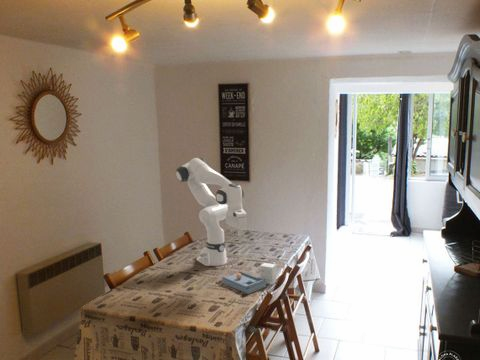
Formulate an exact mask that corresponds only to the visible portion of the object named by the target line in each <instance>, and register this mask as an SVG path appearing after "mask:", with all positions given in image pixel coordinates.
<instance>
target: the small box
mask: <svg viewBox="0 0 480 360" xmlns="http://www.w3.org/2000/svg"><path fill="white" fill-rule="evenodd" d="M259 266H260V267H259V269H260V276H259V278H260V279H266V285H272V286H273V285H274V284H275V283H277V281H278V280H277V264H273V263H270V262H263V263H262V264H260V265H259Z"/></svg>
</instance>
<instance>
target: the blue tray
mask: <svg viewBox="0 0 480 360" xmlns="http://www.w3.org/2000/svg"><path fill="white" fill-rule="evenodd" d="M238 273H240V274H241V275H242V278H241V279H238V278H237V277H236V275H237V274H238ZM238 273H235V274H233V275H229V276H227V277H225V276H222V280H221V282H222V284H224V285H227V286H229V287H231V288H234V289H235V290H237V291H240V292H242V293H245V294H251V293H253V292H256V291H257V292H258V291H259V290H262V289H264V288H266V287H267V284H266V279H260V277H257V276H255V275H252V274H250V273H248V272H244V271H241V270H239V271H238Z"/></svg>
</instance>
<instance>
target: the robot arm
mask: <svg viewBox="0 0 480 360" xmlns="http://www.w3.org/2000/svg"><path fill="white" fill-rule="evenodd" d="M175 175H176V177H177V180H179V182H181V183H187V185H188V188H189V190H190V192H191V194H192V195H193V197H194V199H195V200H196V201H197V203H198V204H199V205H201V206H203V207H204V208H203V209H201V210H200V211H199V214H198V219H199V221H200V222H201V223H202V224H203V225H204V227H205V229H206V234H207V235H206V236H207V238H206V239H207V241H205V242H204V243H205V244H204V245H205V247H204V248H202V249H201V250H200V252H199V256H198V257H197V258H196V259H195V260H196V261H197V262H198V263H200V264H202V265H204V266H207V267H209V266H215V267H219V266H223V265H226V264H227V263H228V256H227V248H226V241H225V230H224V229H223V228H222V227H221V225H220V221H223V220H225V224H226V225H228V226H229V227H228V228H229V229H230V233H231V234H234V233H235V229H236V230H237V237H240V238H241V237H242V233H243V231H246V229H247V218H246V217H247V215H248V213H247V212H246V211H245V210H244V209H243V200H244V197H245V192H244V190H243V188H242V186H241V185H240V184H239V183H234V182H232V181H231V180H229V179H228V178H227V177H225V176H224V175H223V174H221V173H220V172H218V171H216V170H214V169H213V168H211V166H209V165H208V163H207V161H206V159H204V158H202V157H194V158H192V159H190V160H189V161H187V162H186V163H184V164H183V165H180V166H179V167H178V168H176V170H175ZM208 185H216V186H220V187H221V188H220V189H218V190H216V193H215V195H214V194H213V193H212V191H211V190H210V188H209V187H208Z"/></svg>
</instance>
